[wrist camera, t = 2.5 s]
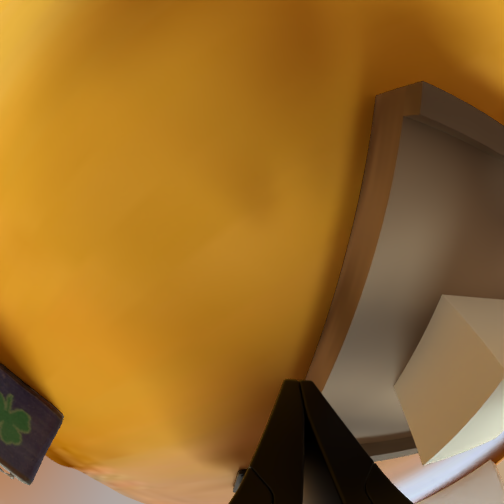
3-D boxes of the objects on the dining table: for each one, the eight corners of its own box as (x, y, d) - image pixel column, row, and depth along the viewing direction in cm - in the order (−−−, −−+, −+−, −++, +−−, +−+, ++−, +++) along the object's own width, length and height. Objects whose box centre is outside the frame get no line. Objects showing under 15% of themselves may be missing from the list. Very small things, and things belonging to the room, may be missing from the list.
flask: (-5, 367, 17) (-53, 433, 7) (-7, 352, 16) (-62, 423, 6) (64, 422, 19) (26, 501, 9) (66, 412, 18) (23, 500, 8)
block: (463, 378, 11) (496, 437, 6) (393, 386, 11) (422, 465, 6) (508, 300, 9) (561, 355, 5) (442, 294, 9) (507, 373, 5)
